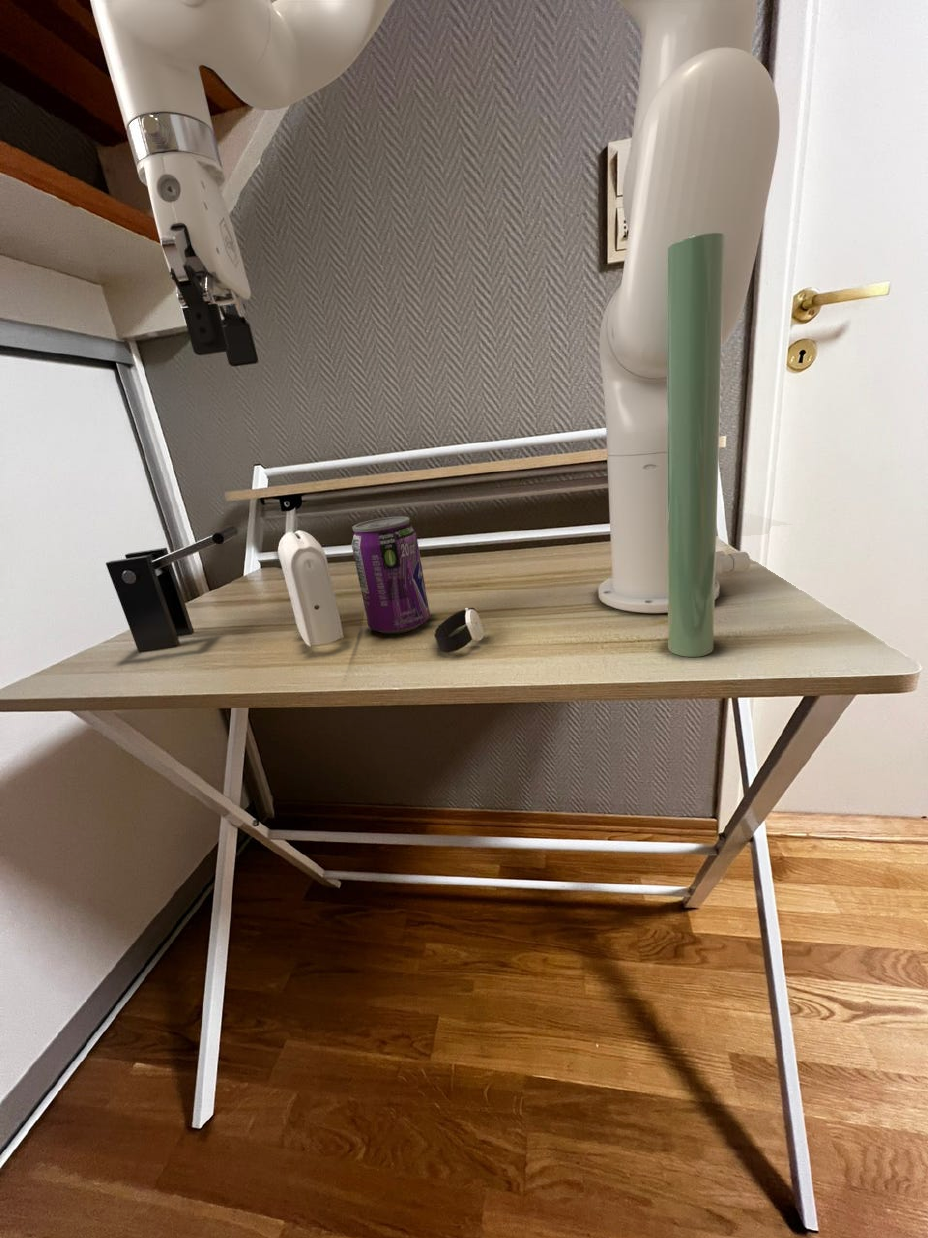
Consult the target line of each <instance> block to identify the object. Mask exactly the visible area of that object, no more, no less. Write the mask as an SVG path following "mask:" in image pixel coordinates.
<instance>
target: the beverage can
mask: <svg viewBox="0 0 928 1238" xmlns="http://www.w3.org/2000/svg"><path fill="white" fill-rule="evenodd" d="M410 522H411V519H410V517H408V516H402V515H401V516H387V517H381V518H376V519H375V518H374V519H370V520H366V521H362V522H358V523H356V524H354V525H353V526H352V527H351V528H352V531H353V532H354V533H353V537H352V541H351V549H352V554H353V559H354V564H355V568H356V573H357V577H358V578H357V579H358V582H359V587H360V592H361V597H362V603H363V606H364V612H365V617H366V621H367V625H368V628H369V629H370V630H372V631H376V632H380V633H381V634H387V635H398V634H403V633H408V632H410V631H413V630H415V629H417V628H419V627H420V626H421V625H422V624H424V623H425V622H427V620H429V618H430V617H431V616H430V615H431V612H430V607H429V601H428V595H427V588H426V583H425V577H424V572H423V565H422V560H421V553H420V548H419V547H420V546H419V541H418V535H417V532H416V531H415V529H414V528H413V526H412V525H411V524H410Z"/></svg>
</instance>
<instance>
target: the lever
mask: <svg viewBox="0 0 928 1238" xmlns="http://www.w3.org/2000/svg"><path fill="white" fill-rule="evenodd" d="M236 536H238V529H237V527H236V526H234V525H228V526H226V527H224V528H222V529H220V530H218V531H216V532H214V533H213V534H212V535H209V536H207V537H205V538H202V539H200V540H198V541H196V542H192V543H191V544H189V545H185V546H184V547H182V548H179V549H177V550H175V551H173V552H170V553H168V554H167V555H165V556H163V557H160V558H158V559H156V560H155V558H154V557H153V555H152V554H151V555H149V556H150V557H151V560H152V563H153V566H154V569H155V572H156V575H157V576H159V575H160V574H162V573H163V571H162V569H161V567H164V566H166V565H168V564H171V563H172V564H173V563H175V562H178V561H180V560H183V559H184V558H187V557H189V556H192V555H194V554H197V553H199V552H202V551H203V550H205V549H208V548H210V547H213V546H215V545H223V544H225V543H226V542H228V541H230V540H231V539H233V538H235V537H236Z"/></svg>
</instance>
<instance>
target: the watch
mask: <svg viewBox="0 0 928 1238" xmlns="http://www.w3.org/2000/svg"><path fill="white" fill-rule="evenodd" d="M461 627H463V628H462V629H461V630H459V631H458V632H456V633H454V632H455V631H457V630H458V629H459V628H461ZM453 633H454V634H453ZM434 638H435V641H436V644H437V646H438V648H439V650H440V652H442V653H446V654H447V653H448V654H449V653H453V652H456V651H459V650H461V649H463V648H464V647H466V646H467V645H468V644H470V643H471V642H472V641H474V642H479V641H481V640H482V639H483V638H484V628H483V624H482V621H481V618H480V616H479V614H478V611H476V608H475V607H465V608H464V609H462V610H460V611H458V612H457V611H456V612H455V613H454V614H452V615H450V616H449V617H448V618H446V619H445V620H444V621H442V622H441V623H440V624H439V625H437V627H436V629H435V631H434Z"/></svg>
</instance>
